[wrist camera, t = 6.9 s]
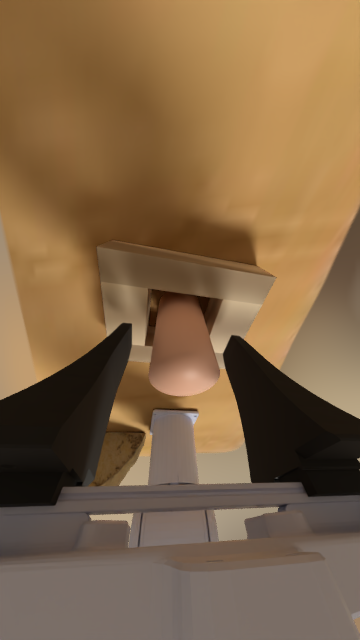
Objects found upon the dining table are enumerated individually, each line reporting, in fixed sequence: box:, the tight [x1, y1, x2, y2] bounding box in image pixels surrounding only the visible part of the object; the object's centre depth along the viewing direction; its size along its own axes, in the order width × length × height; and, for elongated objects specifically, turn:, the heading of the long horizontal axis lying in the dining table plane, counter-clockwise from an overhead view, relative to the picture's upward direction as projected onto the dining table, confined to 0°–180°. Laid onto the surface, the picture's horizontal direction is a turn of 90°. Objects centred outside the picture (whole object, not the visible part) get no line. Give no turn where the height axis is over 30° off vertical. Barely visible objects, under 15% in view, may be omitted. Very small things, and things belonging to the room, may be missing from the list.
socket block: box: [96, 240, 277, 369], centre depth 14 cm, size 10×12×3 cm
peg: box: [149, 291, 220, 396], centre depth 12 cm, size 4×4×8 cm
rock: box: [88, 432, 145, 487], centre depth 30 cm, size 11×9×10 cm
